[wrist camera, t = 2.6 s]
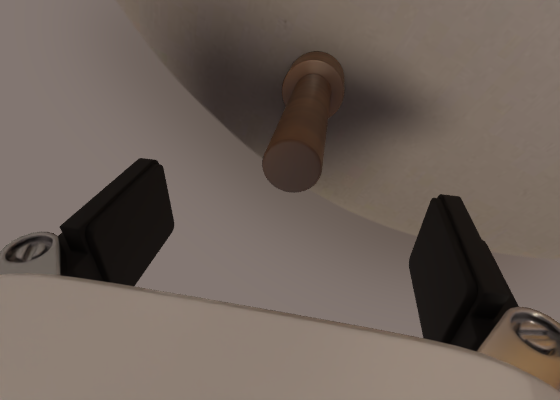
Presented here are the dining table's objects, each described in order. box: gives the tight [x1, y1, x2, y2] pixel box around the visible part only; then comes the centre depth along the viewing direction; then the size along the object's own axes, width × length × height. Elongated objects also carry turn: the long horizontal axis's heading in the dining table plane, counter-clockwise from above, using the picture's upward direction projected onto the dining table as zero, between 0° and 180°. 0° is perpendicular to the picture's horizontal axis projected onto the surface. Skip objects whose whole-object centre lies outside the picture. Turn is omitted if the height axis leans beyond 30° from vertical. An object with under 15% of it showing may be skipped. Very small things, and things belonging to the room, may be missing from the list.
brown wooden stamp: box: [262, 51, 344, 192], centre depth 20 cm, size 4×4×14 cm
